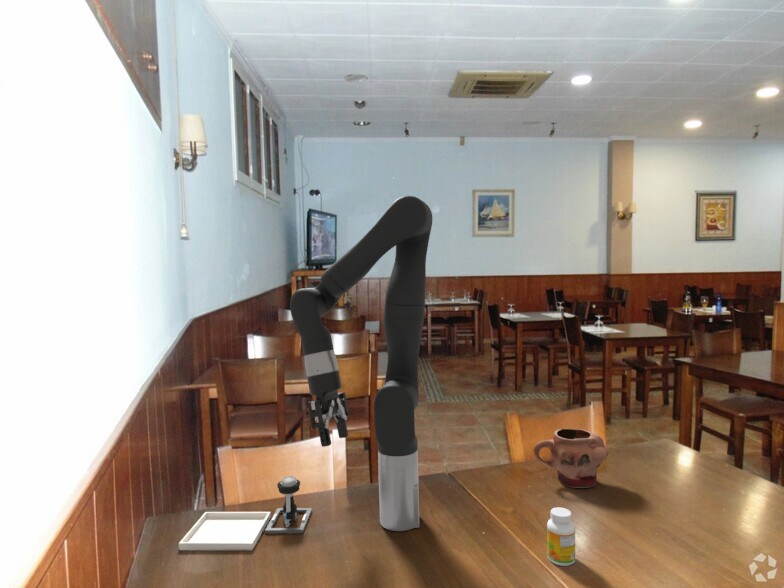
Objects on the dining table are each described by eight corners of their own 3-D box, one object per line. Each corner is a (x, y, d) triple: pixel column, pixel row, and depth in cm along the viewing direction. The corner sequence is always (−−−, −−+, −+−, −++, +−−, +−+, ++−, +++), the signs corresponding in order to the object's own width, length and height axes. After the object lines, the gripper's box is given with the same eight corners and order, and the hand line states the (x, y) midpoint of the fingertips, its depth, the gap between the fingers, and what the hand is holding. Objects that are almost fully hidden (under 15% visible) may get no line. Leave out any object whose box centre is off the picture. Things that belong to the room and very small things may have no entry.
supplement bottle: (543, 552, 104) (542, 506, 104) (568, 550, 105) (568, 504, 104) (553, 567, 99) (553, 519, 99) (580, 565, 100) (579, 517, 99)
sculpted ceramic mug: (544, 495, 130) (543, 442, 130) (527, 476, 143) (526, 427, 142) (618, 490, 132) (618, 437, 131) (595, 471, 144) (595, 423, 144)
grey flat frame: (312, 511, 125) (311, 506, 125) (302, 533, 114) (302, 528, 114) (277, 511, 125) (277, 506, 125) (265, 533, 114) (264, 528, 114)
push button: (298, 529, 116) (296, 486, 116) (275, 529, 116) (273, 487, 116) (303, 514, 123) (301, 474, 122) (281, 515, 123) (279, 475, 122)
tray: (271, 517, 122) (270, 511, 122) (252, 550, 108) (252, 543, 108) (205, 518, 122) (205, 511, 122) (178, 550, 108) (178, 543, 108)
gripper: (321, 372, 111) (335, 447, 109) (350, 366, 124) (362, 432, 122) (292, 378, 113) (305, 451, 112) (323, 371, 127) (335, 436, 125)
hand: (335, 441), depth 117 cm, fingers open, 8 cm apart
